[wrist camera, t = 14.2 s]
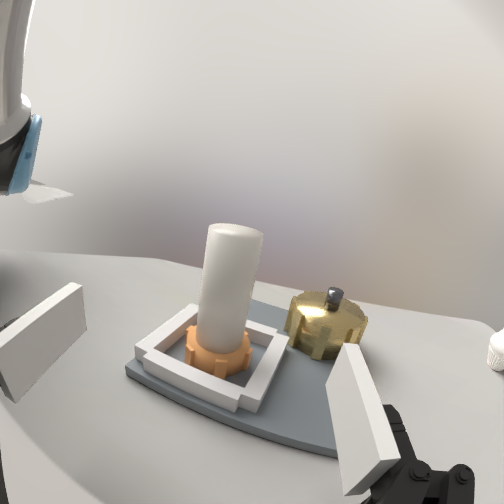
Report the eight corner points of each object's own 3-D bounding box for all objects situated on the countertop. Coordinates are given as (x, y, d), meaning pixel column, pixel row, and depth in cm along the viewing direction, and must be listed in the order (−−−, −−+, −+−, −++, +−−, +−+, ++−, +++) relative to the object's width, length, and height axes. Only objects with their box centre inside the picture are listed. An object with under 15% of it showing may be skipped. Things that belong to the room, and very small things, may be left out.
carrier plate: (126, 374, 20) (123, 351, 19) (220, 295, 37) (222, 279, 37) (339, 458, 15) (353, 440, 14) (351, 335, 33) (358, 319, 32)
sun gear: (274, 347, 27) (288, 294, 25) (291, 312, 34) (303, 268, 33) (354, 370, 24) (377, 319, 23) (355, 330, 32) (371, 287, 30)
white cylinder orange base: (170, 359, 22) (180, 227, 19) (201, 330, 27) (216, 217, 24) (235, 388, 20) (264, 250, 17) (257, 351, 26) (285, 234, 22)
